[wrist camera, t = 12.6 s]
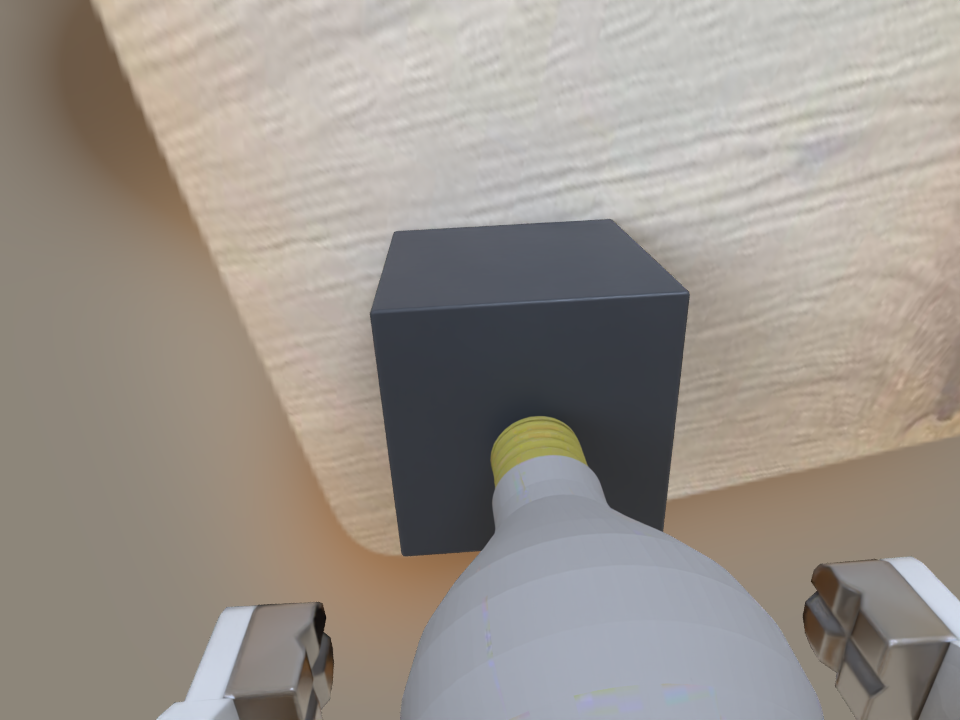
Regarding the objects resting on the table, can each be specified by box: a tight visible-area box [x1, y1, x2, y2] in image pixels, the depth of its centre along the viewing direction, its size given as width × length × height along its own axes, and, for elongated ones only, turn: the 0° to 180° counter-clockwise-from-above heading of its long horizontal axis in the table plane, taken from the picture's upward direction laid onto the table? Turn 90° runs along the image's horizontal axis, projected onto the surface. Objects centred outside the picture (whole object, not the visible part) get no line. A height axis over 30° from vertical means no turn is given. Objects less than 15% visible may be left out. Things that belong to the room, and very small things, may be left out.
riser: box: [370, 219, 690, 556], centre depth 18 cm, size 7×7×7 cm
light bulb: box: [400, 416, 824, 720], centre depth 10 cm, size 6×6×10 cm
